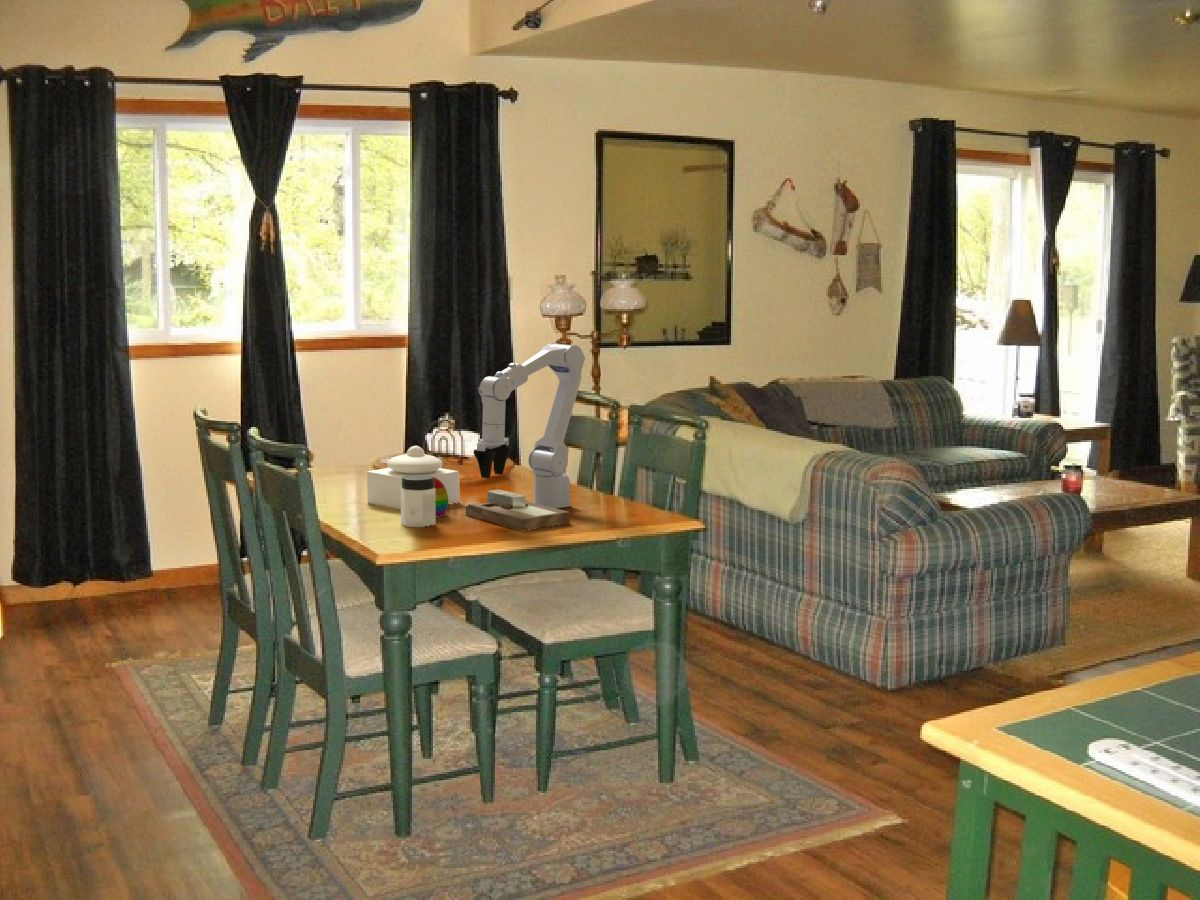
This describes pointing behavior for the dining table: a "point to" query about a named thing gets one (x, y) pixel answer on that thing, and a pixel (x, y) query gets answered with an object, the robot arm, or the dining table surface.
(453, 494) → the butter dish
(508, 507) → the board
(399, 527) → the dining table surface
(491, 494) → the bar
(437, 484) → the decorative egg
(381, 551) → the dining table surface
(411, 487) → the jar
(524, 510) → the pad
